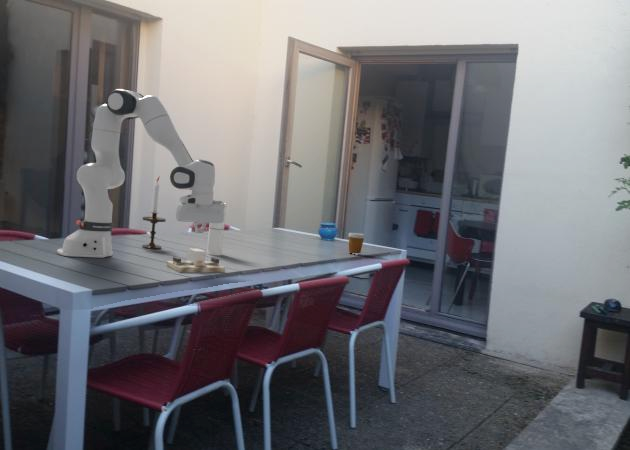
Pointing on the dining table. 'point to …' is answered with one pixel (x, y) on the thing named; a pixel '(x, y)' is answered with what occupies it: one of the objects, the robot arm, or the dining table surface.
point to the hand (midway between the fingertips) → (198, 233)
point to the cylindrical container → (216, 237)
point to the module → (196, 256)
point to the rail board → (189, 267)
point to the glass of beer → (355, 242)
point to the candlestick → (154, 220)
